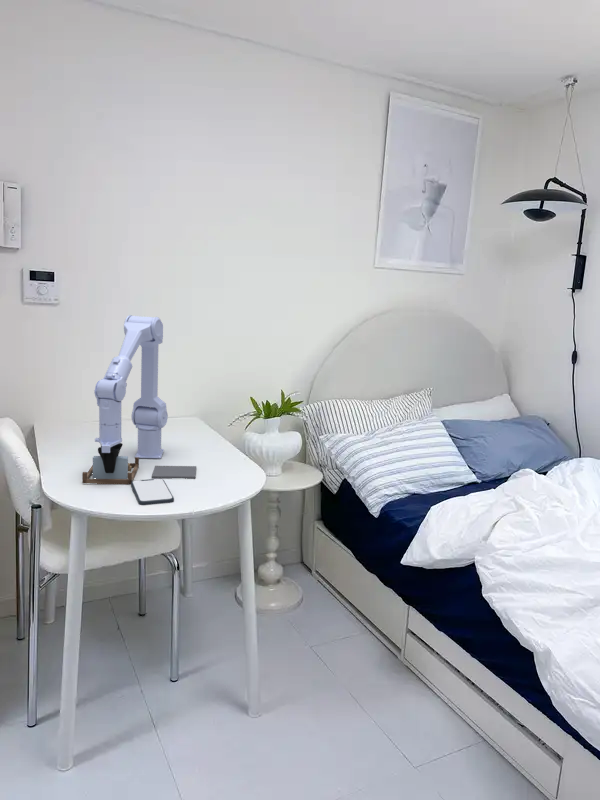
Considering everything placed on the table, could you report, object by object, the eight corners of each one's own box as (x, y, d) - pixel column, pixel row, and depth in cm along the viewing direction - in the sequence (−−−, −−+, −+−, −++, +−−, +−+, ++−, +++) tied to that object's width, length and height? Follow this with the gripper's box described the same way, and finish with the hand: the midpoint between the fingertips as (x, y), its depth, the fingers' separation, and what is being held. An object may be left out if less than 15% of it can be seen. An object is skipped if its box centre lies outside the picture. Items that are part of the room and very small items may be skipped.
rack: (94, 466, 171) (94, 456, 170) (138, 467, 173) (138, 457, 172) (82, 484, 156) (82, 473, 155) (131, 484, 158) (131, 473, 157)
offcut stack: (99, 468, 170) (99, 462, 170) (131, 468, 171) (131, 463, 171) (97, 471, 167) (97, 465, 167) (130, 471, 168) (130, 466, 168)
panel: (94, 476, 162) (94, 455, 161) (127, 477, 164) (127, 456, 162) (92, 479, 160) (92, 457, 159) (126, 479, 162) (126, 458, 161)
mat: (155, 467, 173) (155, 465, 173) (196, 468, 175) (196, 466, 175) (151, 478, 164) (151, 476, 163) (195, 478, 165) (195, 476, 165)
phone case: (175, 504, 147) (163, 483, 161) (175, 498, 146) (163, 477, 161) (138, 508, 143) (130, 486, 158) (138, 502, 143) (130, 480, 157)
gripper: (100, 417, 166) (100, 463, 168) (89, 429, 151) (89, 479, 154) (125, 417, 167) (125, 463, 169) (117, 429, 153) (117, 479, 155)
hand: (110, 471), depth 162 cm, fingers closed on panel, 2 cm apart
